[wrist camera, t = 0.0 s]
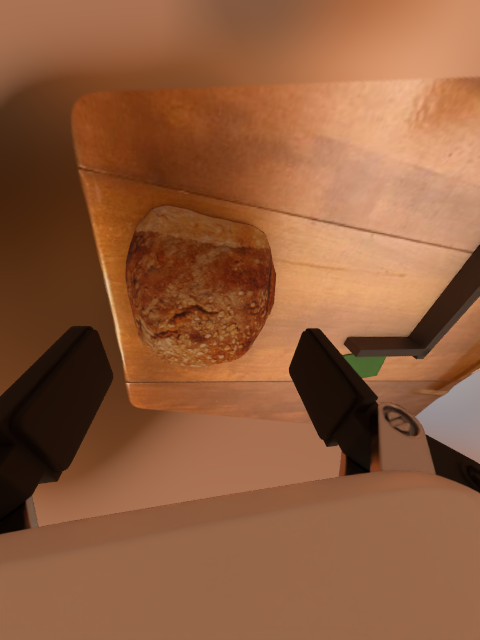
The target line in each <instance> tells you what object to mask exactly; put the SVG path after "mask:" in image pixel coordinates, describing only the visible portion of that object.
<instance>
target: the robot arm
mask: <svg viewBox="0 0 480 640" xmlns="http://www.w3.org/2000/svg"><path fill="white" fill-rule="evenodd" d="M289 373H290V376H291V378H292V380H293V382H294V384H295V387H296V389H297V391H298V393H299V395H300V397H301V399H302V401H303V404H304V406H305V408H306V410H307V412H308V414H309V416H310V419H311V421H312V423H313V425H314V427H315V429H316V431H317V433H318V435H319V437H320V438H321V439H322V440H324V442H325V444H326V446H327V447H330V446H337V445H339V446H340V448H341V450H342V453H341V462H340V471H339V477H335V478H329V479H323V480H316V481H310V482H303V483H297V484H291V485H285V486H278V487H273V488H266V489H260V490H254V491H248V492H242V493H236V494H230V495H223V496H218V497H212V498H206V499H200V500H193V501H187V502H181V503H175V504H169V505H163V506H157V507H151V508H146V509H140V510H134V511H128V512H122V513H116V514H110V515H104V516H99V517H92V518H86V519H80V520H75V521H69V522H63V523H58V524H52V525H47V526H42V527H38V522H37V517H36V513H35V507H34V503H33V498H32V494H33V493H34V491H35V489H36V487H37V486H38V484H41V483H48V482H56V481H58V479H59V477H60V475H61V473H62V471H64V470H66V469H67V468H68V467H69V466H70V464H71V462H72V461H73V459H74V457H75V455H76V453H77V450H78V449H79V447H80V445H81V443H82V441H83V438H84V437H85V435H86V433H87V430H88V429H89V427H90V425H91V423H92V421H93V419H94V417H95V415H96V413H97V411H98V409H99V407H100V405H101V402H102V401H103V399H104V396H105V395H106V393H107V391H108V389H109V387H110V385H111V382H112V380H113V372H112V369H111V367H110V364H109V361H108V359H107V356H106V353H105V350H104V348H103V345H102V342H101V339H100V336H99V334H98V332H97V331H96V330H93V328H92V327H90V326H73V327H71V328H70V329H69V330H67V332H65V333H64V334H63V335H62V337H60V338H59V339H58V340H57V341H56V342H55V343H54V344H53V345H52V346H51V347H50V349H48V350H47V351H46V352H45V353H44V354H43V355H42V356H41V357H40V358H39V359H38V360H37V361H36V362H35V363H34V364H33V365H32V366H31V367H30V368H29V369H28V370H27V371H26V372H25V373H24V374H23V375H22V376H21V377H20V378H19V379H18V380H17V381H16V382H15V383H14V384H13V385H12V386H11V387H10V388H8V389H7V390H6V391H5V392H4V393H3V394H2V395H1V396H0V640H480V464H479V463H477V462H475V461H474V460H472V459H470V458H468V457H466V456H464V455H463V454H461V453H459V452H457V451H455V450H453V449H451V448H450V447H448V446H446V445H444V444H442V443H440V442H438V441H437V440H435V439H433V438H431V437H429V436H428V435H426V434H425V432H424V429H423V427H422V425H421V424H420V422H419V421H418V420H417V419H416V418H415V417H414V416H413V415H412V414H411V413H410V412H408V411H407V410H406V409H404V408H403V407H401V406H399V405H397V404H394V403H391V402H381V403H380V404H379V405H378V404H377V402H376V400H377V399H378V397H377V396H376V395H375V393H374V392H373V391H372V390H371V389H370V387H369V386H368V385H367V384H366V383H365V382H364V380H363V379H362V378H361V377H360V376H359V375H358V373H357V372H356V371H355V370H354V369H353V368H352V366H351V365H350V364H349V363H348V362H347V360H346V359H345V358H344V357H343V356H342V355H341V353H340V352H339V351H338V350H337V349H336V348H335V346H334V345H333V344H332V343H331V342H330V340H329V339H328V338H327V337H326V336H325V335H324V333H323V332H322V331H321V330H320V329H318V328H308V329H306V330H305V331H304V332H303V333H302V335H301V338H300V340H299V343H298V346H297V348H296V351H295V353H294V356H293V359H292V361H291V364H290V367H289Z"/></svg>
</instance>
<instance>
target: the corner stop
mask: <svg viewBox="0 0 480 640" xmlns="http://www.w3.org/2000/svg"><path fill="white" fill-rule="evenodd" d="M479 296H480V245H479V247H478V248H477V249H476V251H475V252H474V253H473V255H472V256H471V257H470V258H469V260H468V261H467V262H466V264H465V265H464V266H463V267H462V269H461V270H460V271H459V273H458V274H457V275H456V276H455V278H454V279H453V280H452V282H451V283H450V284H449V285H448V287H447V288H446V289H445V291H444V292H443V293H442V295H441V296H440V297H439V298H438V300H437V301H436V302H435V304H434V305H433V306H432V307H431V309H430V310H429V311H428V313H427V314H426V315H425V316H424V318H423V319H422V320H421V322H420V323H419V324H418V326H417V327H416V328H415V329H414V331H413V332H412V333H411V335H410V336H409V337H348V338H347V340H346V342H345V344H344V345H345V346H346V347H347V348H348V349H349V350H350V351H351V352H352V353H353V355H354V356H355V357H386V356H413V357H414V358H416V359H424V357H425V356H426V355H427V354H428V353H429V352H430V351H431V350H432V349H433V347H434V346H435V345H436V344H437V343H438V342H439V341H440V340H441V339H442V337H443V336H444V335H445V334H446V333H447V332H448V331H449V330H450V329H451V327H452V326H453V325H454V324H455V323H456V322H457V321H458V320H459V319H460V317H461V316H462V315H463V314H464V313H465V312H466V311H467V310H468V309H469V307H470V306H471V305H472V304H473V303H474V302H475V301H476V300H477V299H478V297H479Z"/></svg>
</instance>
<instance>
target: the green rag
mask: <svg viewBox="0 0 480 640" xmlns="http://www.w3.org/2000/svg"><path fill="white" fill-rule="evenodd" d="M342 356H343V357H344V358H345V359H346V360H347V362H348V363H349V364H350V365H351V366H352V368H353V369H354V370H355V371H356V372H357V373H358V375H359V376H360V377H361V378H366V377H371V376H376V375H377V374H378V372H379V370H380V368H381V366H382V364H383V362H384V360H385V358H386V357H355V356H354V355H353V354H348V355H342Z"/></svg>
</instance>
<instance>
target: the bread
mask: <svg viewBox="0 0 480 640" xmlns="http://www.w3.org/2000/svg"><path fill="white" fill-rule="evenodd" d="M275 282H276V273H275V269H274V265H273V261H272V255H271V250H270V246H269V243H268V241H267V237H266V235H265V233H264V232H263V231H261V230H259V229H257V228H255V227H254V226H252V225H249V224H242V223H236V222H233V221H229V220H226V219H219V218H213V217H209V216H206V215H202V214H199V213H197V212H194V211H191V210H188V209H184V208H178V207H173V206H168V205H167V206H162V207H157V208H152V209H151V210H150V212H149V213H148V214H147V215H146V216H145V217H144V218H143V219H142V220H141V222H140V223H139V224H138V225H137V227H136V230H135V233H134V236H133V239H132V241H131V244H130V248H129V252H128V256H127V261H126V284H127V290H128V296H129V300H130V304H131V308H132V312H133V316H134V320H135V324H136V328H137V331H138V335H139V338H140V340H141V341H142V343H143V344H144V345H146V346H149V347H150V349H151V351H152V352H153V353H154V354H155V355H156V356H157V357H159V358H160V359H162V360H164V361H166V362H168V363H170V364H174V365H180V366H210V365H215V364H219V363H224V362H231V361H233V360H236V359H238V358H240V357H241V356H243V355H244V354H245V353H246V352H247V351H248V350H249V349H250V347H251V346H252V344H253V342H254V341H255V339H256V338H257V336H258V335H259V333H260V331H261V330H262V328H263V326H264V324H265V321H266V319H267V317H268V315H269V314H270V312H271V309H272V307H273V304H274V295H275Z"/></svg>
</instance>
